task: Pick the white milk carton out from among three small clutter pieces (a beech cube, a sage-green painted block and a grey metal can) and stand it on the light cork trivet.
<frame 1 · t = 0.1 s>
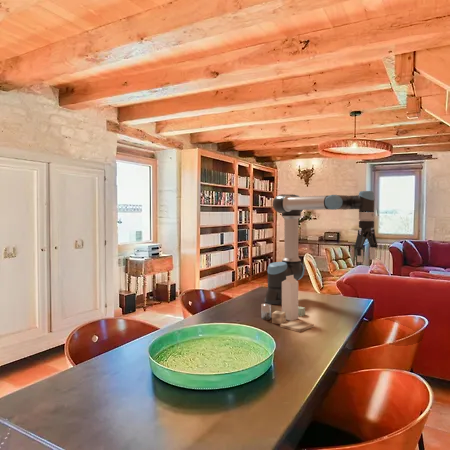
hand: (366, 260, 196), 28 cm above the table, fingers open, 13 cm apart
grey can: (266, 318, 190), on the table
beech cube: (278, 322, 183), on the table
trivet: (296, 326, 175), on the table
sage block: (297, 314, 196), on the table
milk: (290, 319, 189), on the table
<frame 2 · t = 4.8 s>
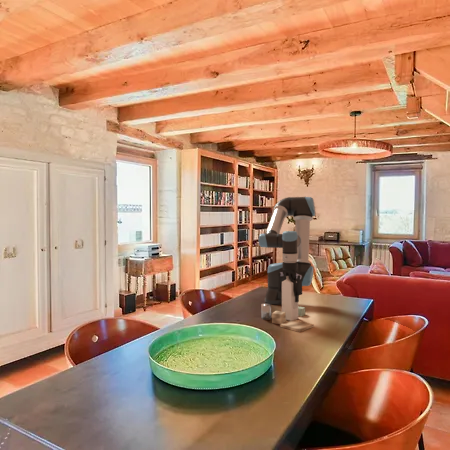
hand: (290, 307, 188), 6 cm above the table, fingers closed on milk, 6 cm apart
milk: (290, 319, 189), on the table, touching gripper
everything else where it was.
when the fingers open (7 cm above the table, at t = 10.5 s): milk stays where it is, resting on trivet.
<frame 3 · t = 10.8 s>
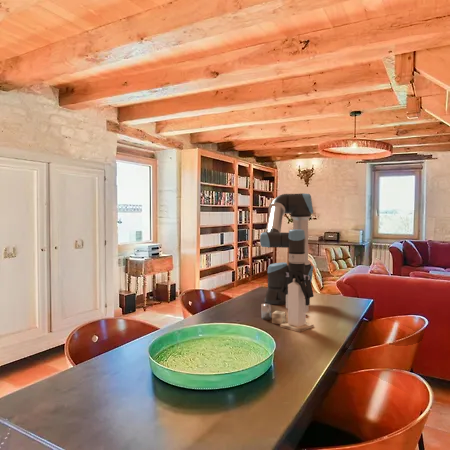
hand: (296, 309, 175), 8 cm above the table, fingers open, 9 cm apart
milk: (296, 324, 175), point 1 cm above the table, touching trivet
everything else where it was.
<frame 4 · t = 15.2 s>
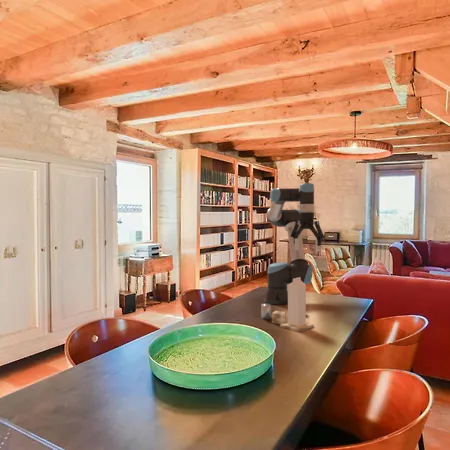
hand: (306, 251, 202), 33 cm above the table, fingers open, 13 cm apart
nothing on the table moved.
at the end: milk inside the target area on the trivet (0.0 cm from its centre), point 1.0 cm above the trivet's base; milk tilted 0°; the gripper is holding nothing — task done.
